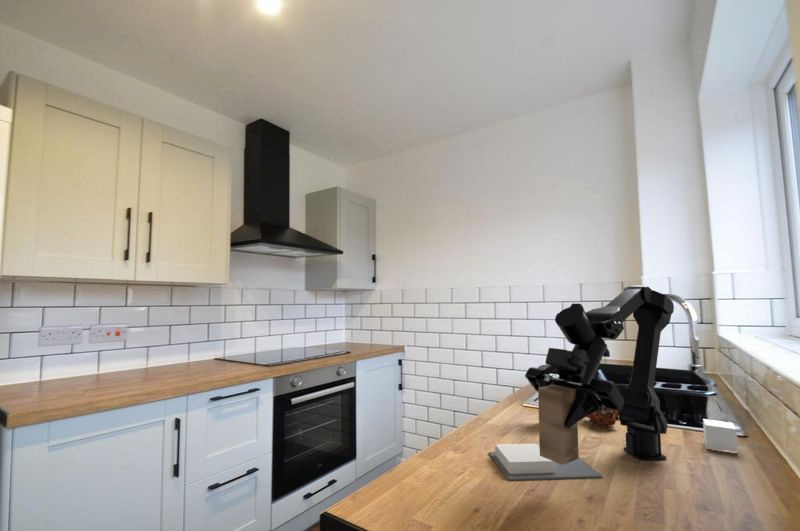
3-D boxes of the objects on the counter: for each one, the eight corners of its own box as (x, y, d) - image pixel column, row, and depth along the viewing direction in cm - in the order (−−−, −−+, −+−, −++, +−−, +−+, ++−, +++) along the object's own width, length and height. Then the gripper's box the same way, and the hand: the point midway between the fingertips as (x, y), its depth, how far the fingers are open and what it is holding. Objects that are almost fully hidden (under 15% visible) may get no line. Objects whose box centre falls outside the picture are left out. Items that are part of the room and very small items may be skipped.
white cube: (704, 442, 103) (702, 418, 104) (734, 447, 100) (732, 422, 101) (706, 449, 98) (705, 424, 99) (738, 455, 95) (736, 429, 95)
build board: (569, 451, 97) (569, 439, 97) (602, 477, 83) (602, 463, 83) (488, 453, 95) (488, 441, 95) (508, 480, 81) (508, 466, 81)
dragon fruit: (613, 439, 110) (588, 431, 121) (633, 418, 112) (607, 413, 123) (593, 413, 111) (570, 407, 122) (613, 393, 113) (589, 390, 124)
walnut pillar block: (555, 450, 80) (554, 384, 81) (578, 458, 76) (576, 389, 77) (539, 455, 77) (538, 387, 78) (562, 465, 73) (560, 393, 74)
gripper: (529, 330, 88) (495, 387, 81) (613, 337, 73) (580, 408, 66) (552, 362, 92) (522, 420, 85) (636, 376, 76) (608, 447, 69)
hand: (553, 422), depth 76 cm, fingers closed on walnut pillar block, 5 cm apart
